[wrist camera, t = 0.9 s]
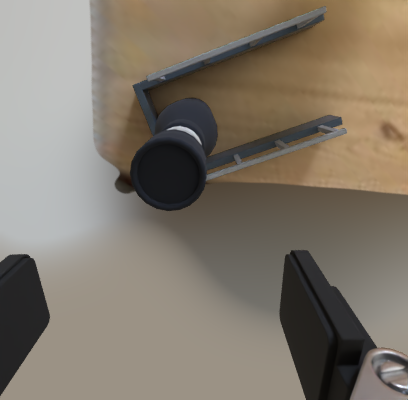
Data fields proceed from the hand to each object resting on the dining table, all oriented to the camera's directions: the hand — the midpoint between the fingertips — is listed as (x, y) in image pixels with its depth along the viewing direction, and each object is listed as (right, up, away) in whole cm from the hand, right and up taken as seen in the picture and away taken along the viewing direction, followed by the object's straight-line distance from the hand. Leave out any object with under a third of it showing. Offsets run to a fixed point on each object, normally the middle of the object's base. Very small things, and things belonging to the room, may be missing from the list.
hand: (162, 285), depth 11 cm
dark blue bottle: (0, +15, +32) cm, 35 cm away
